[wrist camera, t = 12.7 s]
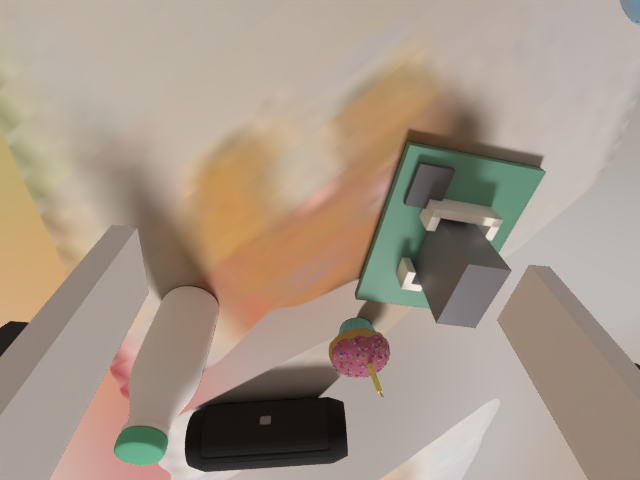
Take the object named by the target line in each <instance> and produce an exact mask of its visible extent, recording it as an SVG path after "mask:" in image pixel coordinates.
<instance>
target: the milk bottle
mask: <svg viewBox="0 0 640 480" xmlns="http://www.w3.org/2000/svg"><path fill="white" fill-rule="evenodd" d="M218 315H219V306H218V303H217V301H216V299H215V298H214V297H213V296H212V295H211V294H210V293H209V292H207V291H205V290H203V289H201V288H198V287H193V286H182V287H178V288H175V289H173V290H172V291H170V292H169V293H167V294H166V295H165V297H164V299H163V301H162V302H161V304H160V307H159V309H158V311H157V313H156V315H155V317H154V320H153V322H152V324H151V326H150V328H149V330H148V333H147V335H146V337H145V339H144V341H143V344H142V346H141V348H140V350H139V353H138V355H137V357H136V360H135V362H134V365H133V367H132V371H131V374H130V380H129V400H130V410H129V418H128V422H127V423H126V424H125V425H124V426H123V427H122V429H121V433H120V435H119V436H118V439H117V441H116V444H115V447H114V453H115V455H116V456H117V457H118V458H119V459H121V460H122V461H124V462H127V463H131V464H135V465H150V464H154V463H157V462H159V461H160V460H161V459H162V458H163V456H164V455H165V452H166V449H167V445H168V440H169V438H170V431H169V430H170V428H171V426H172V424H173V422H174V421H175V419H176V418H177V416H178V415H179V413H180V412H181V411H182V410H183V408H184V407H185V406H186V405H187V404H188V403H189V401H190V400H191V399H192V397H193V396H194V394H195V392H196V390H197V388H198V386H199V383H200V380H201V378H202V374H203V371H204V368H205V364H206V361H207V357H208V354H209V350H210V346H211V342H212V339H213V335H214V331H215V327H216V324H217V320H218Z"/></svg>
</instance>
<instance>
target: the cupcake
mask: <svg viewBox="0 0 640 480" xmlns="http://www.w3.org/2000/svg"><path fill="white" fill-rule="evenodd" d="M389 355H390V349H389V344H388V341H387V340H386V339H385V338H384V337H383V335H382V334H381V333H379V332H376V331H375V330H374V328H373V327H372V325H371V324H370V322H369V321H368V320H366V319H363V318H351V319H348V320H346V321H345V322H344V323H343V324H342V325H341V327H340V331H339V335H338V336H337V337H336V338H335V339H334V340H333V341H332V342H331V343H330V346H329V357H330V360H331V362H332V365H333V366H334V367H335V368H336V371H337V370H338V371H340V372H341V373H342V374H344V375H346V376H350V377H368V376H370V375H371V377H372V379H373V382H374V385H375V387H376V390H377V393H378V394H381V396H382V398H383V397H384V396H383V395H382V389H381V386H380V384H379V381H378V378H377V376H376V373H377V372H379V371H380V370H381V369H382V367H384V366H385V365H386V363H387V361H388V360H389Z"/></svg>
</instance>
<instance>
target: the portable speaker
mask: <svg viewBox="0 0 640 480" xmlns="http://www.w3.org/2000/svg"><path fill="white" fill-rule="evenodd" d="M185 456H186V461H187V464H188V465H189V466H190V467H193V468H195V469H198V470H201V471H204V472H211V471H227V470H242V469H256V468H272V467H286V466H301V465H315V464H330V463H334V462H336V461H338V460H340V459H342V458H344V457H346V456H348V448H347V432H346V420H345V410H344V403H343V402H342V401H339V400H336V399H333V398H330V397H323V398H308V399H293V400H278V401H263V402H248V403H233V404H218V405H209V406H206V407H204V408H202V409H200V410H198V411H195V412H194V413H193V414H192V416H191V417H190V420H189V423H188V426H187V431H186V437H185Z"/></svg>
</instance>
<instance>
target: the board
mask: <svg viewBox="0 0 640 480" xmlns="http://www.w3.org/2000/svg"><path fill="white" fill-rule="evenodd" d="M545 173H546V171H544V170H543V169H541V168H539V167H534V166H529V165H524V164H519V163H514V162H509V161H504V160H499V159H494V158H489V157H484V156H479V155H474V154H469V153H464V152H459V151H454V150H449V149H444V148H438V147H433V146H428V145H423V144H418V143H413V142H408V141H407V144H406V146H405V149H404V152H403V155H402V158H401V161H400V164H399V167H398V170H397V172H396V175H395V178H394V181H393V184H392V187H391V190H390V193H389V196H388V199H387V201H386V204H385V207H384V210H383V213H382V216H381V219H380V222H379V225H378V228H377V230H376V233H375V236H374V239H373V242H372V245H371V248H370V251H369V254H368V256H367V259H366V262H365V265H364V268H363V271H362V274H361V277H360V280H359V283H358V285H357V288H356V291H355V297H356V299H359V300H366V301H374V302H382V303H390V304H398V305H405V306H413V307H422V308H429V309H430V307H429V304H428V302H427V299H426V297H425V294H424V292H423V290H422V287H421V285H420V282H419V280H418V277H417V275H416V272H415V269H414V267H413V263H414V261H415V258H416V256H417V254H418V252H419V249H420V247H421V245H422V243H423V240H424V238H425V236H426V233H427V231H428V230H429V231H435V230H436V228H437V225H438V223H439V221H440V219H441V218H443V219H449V220H455V221H461V222H467V223H473V224H476V225H477V226H478V228H479V229H480V230H481V232H482V233H483V234H484V235H485V237H486V238H487V239H488V241H489V242H490V243H491V245H492V246H493V247H494V248H495V250H496V251H497V252H498V253H499V251H500V250H501V248H502V246H503V244H504V243H505V241H506V239H507V238H508V236H509V234H510V233H511V231H512V229H513V227H514V226H515V224H516V222H517V221H518V219H519V217H520V215H521V214H522V212H523V210H524V209H525V207H526V205H527V204H528V202H529V200H530V198H531V197H532V195H533V193H534V192H535V190H536V188H537V187H538V185H539V183H540V181H541V180H542V178H543V176H544V175H545Z"/></svg>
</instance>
